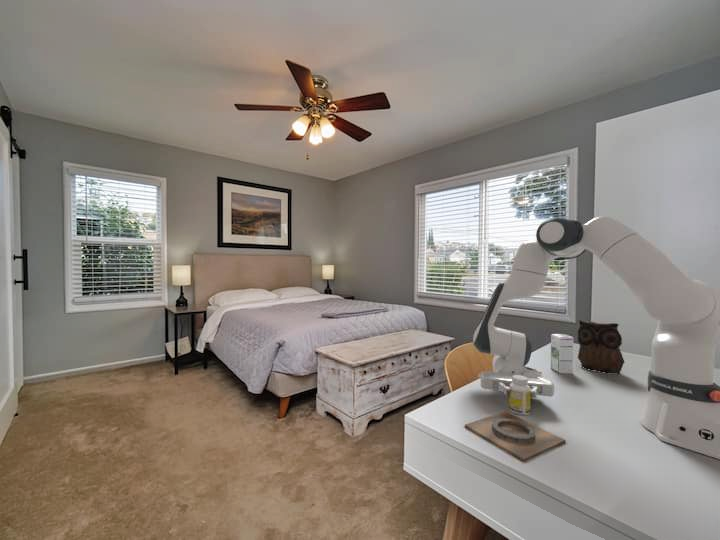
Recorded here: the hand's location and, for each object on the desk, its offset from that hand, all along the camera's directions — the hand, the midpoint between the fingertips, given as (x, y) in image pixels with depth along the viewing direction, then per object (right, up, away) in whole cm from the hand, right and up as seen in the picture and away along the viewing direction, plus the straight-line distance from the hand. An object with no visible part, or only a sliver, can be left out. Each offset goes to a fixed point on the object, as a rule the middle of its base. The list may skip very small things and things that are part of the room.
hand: (520, 393), depth 88 cm
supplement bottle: (0, -6, +1) cm, 6 cm away
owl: (+54, -6, +40) cm, 67 cm away
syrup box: (+35, -6, +36) cm, 51 cm away
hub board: (-8, -6, -11) cm, 15 cm away
